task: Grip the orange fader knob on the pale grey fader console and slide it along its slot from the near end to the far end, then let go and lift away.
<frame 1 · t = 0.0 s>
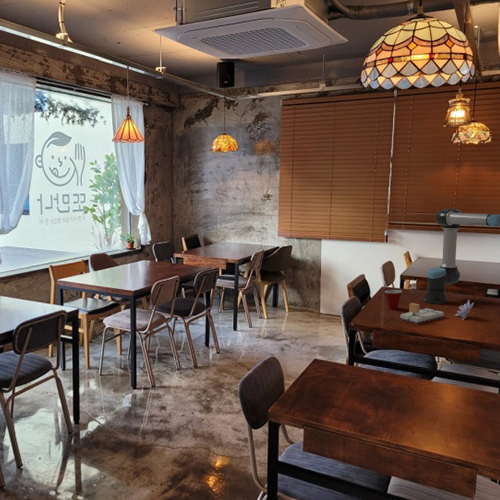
fader knob: (414, 311, 273), point 6 cm above the table, slide at 0.0 cm
plastic cup: (392, 308, 302), on the table
water lily: (463, 317, 280), on the table
fader console: (422, 318, 278), on the table
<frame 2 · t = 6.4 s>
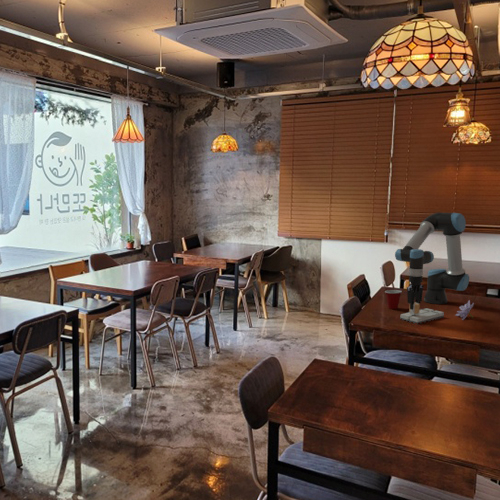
hand: (414, 313, 273), 4 cm above the table, tool pointing down, fingers closed on fader knob, 3 cm apart
fader knob: (414, 311, 273), point 6 cm above the table, slide at 0.0 cm, touching gripper
everything else where it was.
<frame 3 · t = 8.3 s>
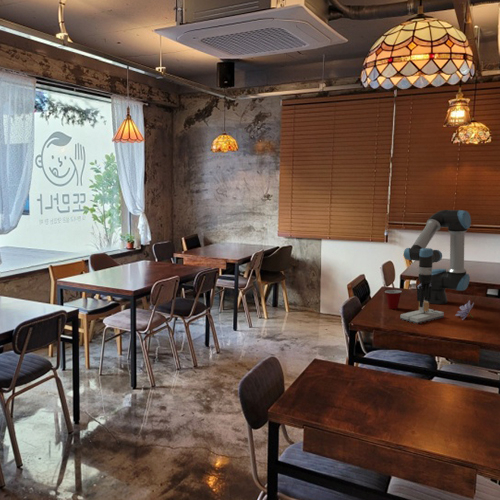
hand: (423, 311, 278), 4 cm above the table, tool pointing down, fingers closed on fader knob, 3 cm apart
fader knob: (423, 308, 278), point 6 cm above the table, slide at 9.1 cm, touching gripper
everything else where it was.
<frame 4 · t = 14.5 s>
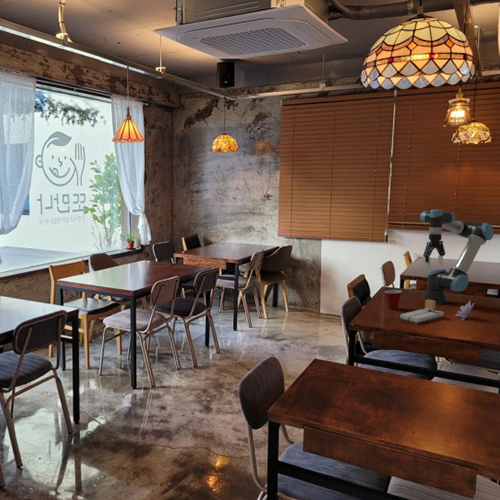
hand: (433, 266, 295), 29 cm above the table, tool pointing down, fingers open, 13 cm apart
fader knob: (430, 307, 282), point 6 cm above the table, slide at 15.7 cm
everything else where it was.
at the end: fader knob slide at 15.7 cm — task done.
